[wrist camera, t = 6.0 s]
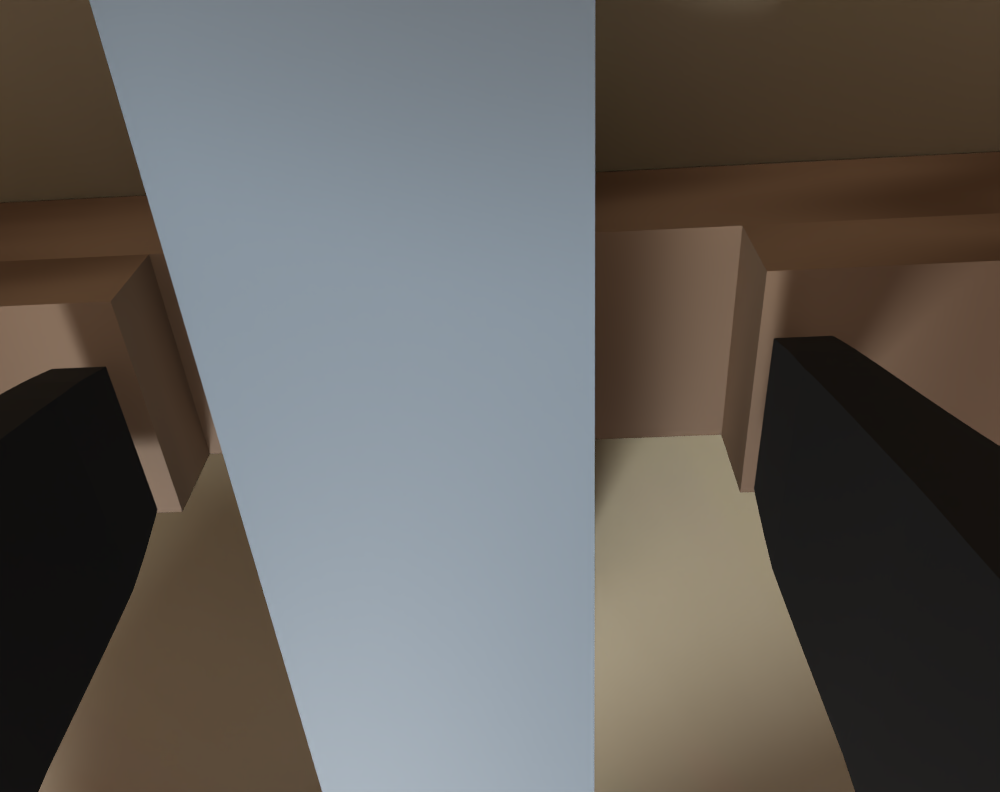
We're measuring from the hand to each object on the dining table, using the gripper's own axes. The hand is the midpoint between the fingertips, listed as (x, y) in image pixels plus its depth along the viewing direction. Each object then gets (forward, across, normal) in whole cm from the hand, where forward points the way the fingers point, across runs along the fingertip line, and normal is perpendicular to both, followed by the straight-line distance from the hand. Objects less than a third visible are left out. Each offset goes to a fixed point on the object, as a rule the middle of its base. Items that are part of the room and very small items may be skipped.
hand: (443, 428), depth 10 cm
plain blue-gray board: (+4, 0, 0) cm, 4 cm away
